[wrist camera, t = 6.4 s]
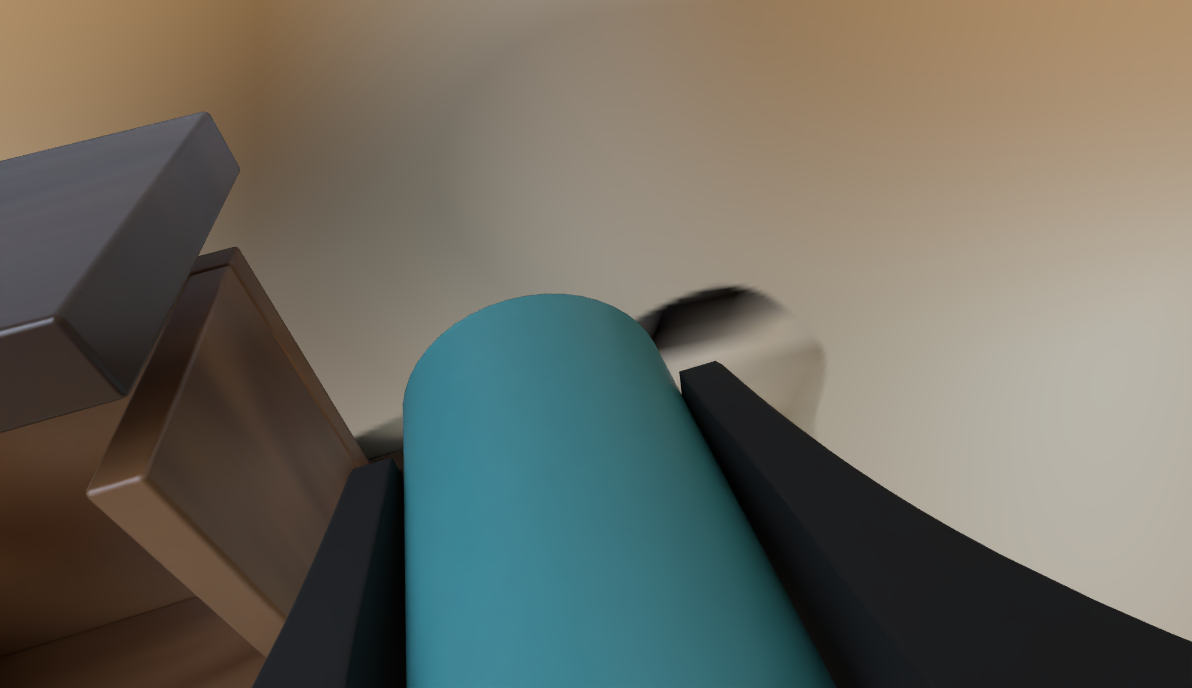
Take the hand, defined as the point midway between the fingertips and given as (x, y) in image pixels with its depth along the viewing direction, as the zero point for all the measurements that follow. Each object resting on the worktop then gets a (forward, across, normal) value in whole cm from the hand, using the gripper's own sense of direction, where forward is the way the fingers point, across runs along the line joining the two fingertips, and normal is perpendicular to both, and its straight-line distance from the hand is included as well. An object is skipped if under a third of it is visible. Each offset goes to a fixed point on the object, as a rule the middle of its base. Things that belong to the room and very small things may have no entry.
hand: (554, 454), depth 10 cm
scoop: (+1, 0, +2) cm, 2 cm away
